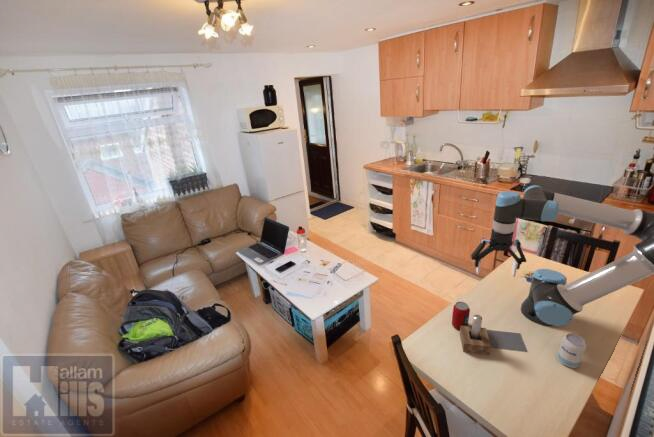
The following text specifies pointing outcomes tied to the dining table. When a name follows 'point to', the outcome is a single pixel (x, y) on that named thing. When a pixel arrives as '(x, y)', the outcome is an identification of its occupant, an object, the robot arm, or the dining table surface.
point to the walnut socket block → (474, 341)
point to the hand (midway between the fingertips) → (495, 273)
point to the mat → (506, 340)
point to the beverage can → (460, 315)
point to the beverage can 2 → (571, 350)
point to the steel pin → (476, 327)
